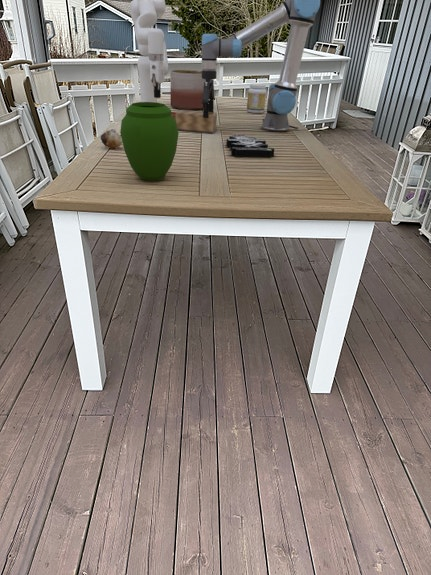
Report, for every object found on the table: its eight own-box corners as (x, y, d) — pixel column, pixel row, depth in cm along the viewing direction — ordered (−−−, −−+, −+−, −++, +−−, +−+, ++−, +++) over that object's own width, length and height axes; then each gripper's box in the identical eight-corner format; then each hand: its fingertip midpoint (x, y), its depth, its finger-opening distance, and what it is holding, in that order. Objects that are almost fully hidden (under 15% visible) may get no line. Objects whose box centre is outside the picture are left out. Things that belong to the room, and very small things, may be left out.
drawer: (148, 126, 219) (147, 112, 216) (153, 123, 227) (153, 109, 224) (192, 129, 216) (192, 115, 212) (196, 126, 224) (196, 113, 220)
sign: (232, 149, 174) (222, 134, 199) (232, 157, 176) (222, 140, 201) (276, 150, 177) (260, 135, 202) (275, 157, 179) (260, 141, 204)
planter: (201, 104, 296) (202, 70, 284) (212, 110, 276) (213, 73, 264) (166, 104, 289) (166, 69, 277) (175, 110, 268) (175, 73, 257)
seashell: (124, 147, 182) (123, 128, 178) (122, 150, 177) (120, 130, 173) (103, 146, 182) (101, 127, 178) (100, 149, 177) (98, 129, 173)
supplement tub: (247, 109, 285) (249, 83, 276) (264, 111, 283) (267, 84, 274) (245, 112, 274) (248, 84, 265) (264, 114, 273) (266, 86, 264)
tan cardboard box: (175, 130, 217) (175, 112, 213) (180, 126, 226) (180, 109, 222) (212, 133, 215) (213, 115, 210) (216, 129, 224) (216, 112, 219)
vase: (131, 189, 135) (125, 110, 122) (118, 172, 150) (112, 100, 137) (186, 184, 142) (187, 109, 129) (169, 168, 157) (167, 99, 144)
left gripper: (159, 59, 199) (160, 100, 209) (167, 57, 211) (168, 96, 221) (144, 58, 200) (146, 99, 210) (153, 56, 212) (154, 95, 222)
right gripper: (211, 72, 193) (210, 120, 205) (220, 68, 214) (219, 112, 225) (196, 71, 194) (196, 119, 206) (206, 67, 215) (206, 111, 226)
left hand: (157, 97), depth 215 cm, fingers closed
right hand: (208, 115), depth 215 cm, fingers open, 13 cm apart
